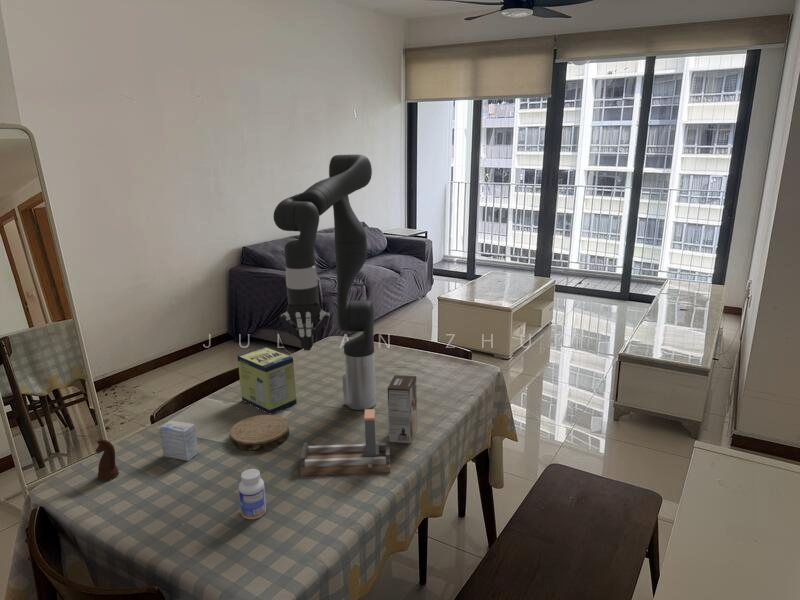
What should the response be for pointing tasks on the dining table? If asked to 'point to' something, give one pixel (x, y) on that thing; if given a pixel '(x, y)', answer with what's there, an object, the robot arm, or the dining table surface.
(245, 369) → the protein box
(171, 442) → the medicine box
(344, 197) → the robot arm
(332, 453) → the board
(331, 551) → the dining table surface
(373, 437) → the fader tab
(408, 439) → the coffee box
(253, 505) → the pill bottle
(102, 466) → the chess piece
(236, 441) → the brown round disc
